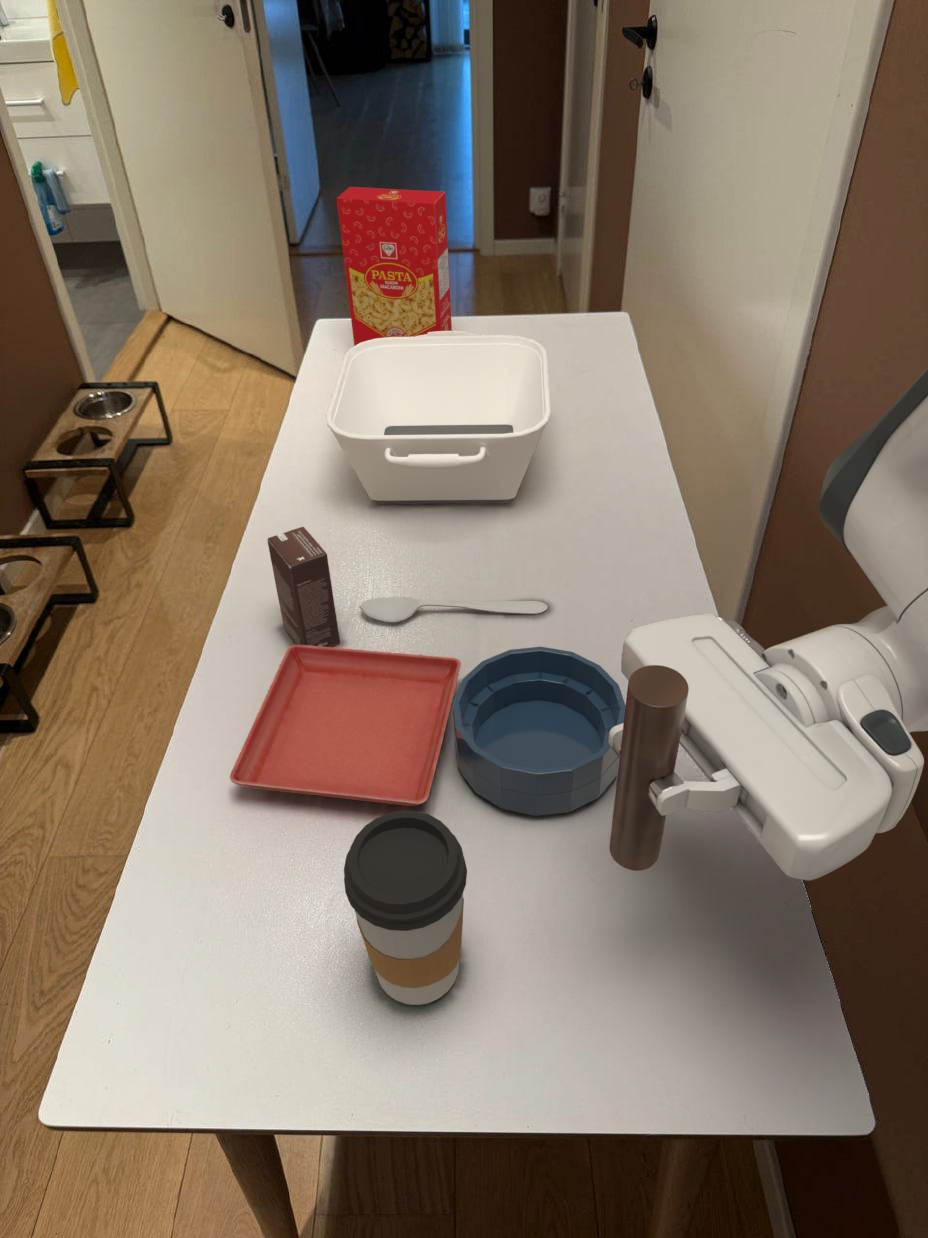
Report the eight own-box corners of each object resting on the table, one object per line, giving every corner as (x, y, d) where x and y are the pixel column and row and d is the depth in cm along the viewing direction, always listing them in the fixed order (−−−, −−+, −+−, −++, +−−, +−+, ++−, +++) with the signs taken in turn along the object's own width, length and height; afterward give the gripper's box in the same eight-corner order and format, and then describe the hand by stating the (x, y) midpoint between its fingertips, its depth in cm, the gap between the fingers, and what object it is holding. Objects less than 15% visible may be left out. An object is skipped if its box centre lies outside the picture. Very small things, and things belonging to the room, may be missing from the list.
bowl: (650, 740, 87) (657, 693, 83) (559, 850, 78) (562, 802, 74) (519, 673, 94) (520, 625, 90) (423, 766, 86) (418, 718, 82)
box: (343, 642, 99) (328, 553, 91) (305, 658, 97) (286, 569, 89) (319, 612, 103) (303, 523, 95) (282, 627, 101) (262, 538, 93)
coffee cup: (380, 911, 75) (360, 796, 65) (481, 928, 73) (477, 813, 63) (350, 1010, 69) (323, 900, 59) (460, 1031, 67) (451, 922, 57)
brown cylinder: (668, 845, 63) (699, 681, 53) (643, 880, 61) (670, 716, 51) (625, 820, 65) (647, 656, 54) (599, 853, 63) (616, 690, 53)
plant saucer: (233, 803, 83) (225, 780, 81) (293, 664, 97) (288, 641, 94) (429, 827, 81) (426, 804, 78) (464, 681, 94) (462, 657, 92)
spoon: (362, 603, 104) (360, 592, 103) (545, 595, 103) (546, 584, 102) (359, 628, 100) (358, 617, 99) (549, 620, 100) (549, 609, 99)
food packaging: (356, 360, 149) (336, 198, 133) (367, 346, 153) (349, 186, 136) (443, 369, 146) (434, 203, 129) (452, 354, 150) (445, 191, 133)
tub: (550, 545, 110) (553, 452, 102) (328, 546, 112) (313, 454, 103) (543, 406, 136) (545, 322, 127) (362, 408, 137) (352, 326, 129)
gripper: (729, 576, 66) (557, 632, 62) (946, 781, 52) (740, 870, 48) (716, 641, 70) (554, 697, 66) (914, 847, 56) (722, 934, 52)
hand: (634, 772), depth 57 cm, fingers closed on brown cylinder, 3 cm apart
